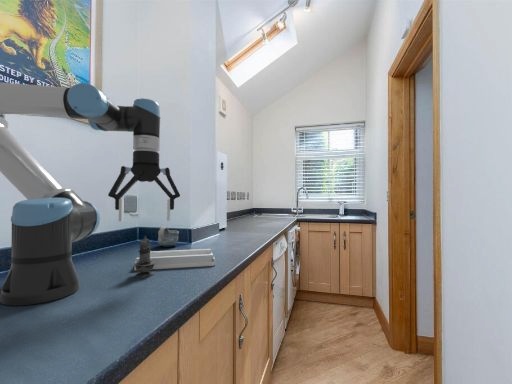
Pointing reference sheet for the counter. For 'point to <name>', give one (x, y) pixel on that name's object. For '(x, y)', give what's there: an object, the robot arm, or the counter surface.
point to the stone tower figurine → (144, 260)
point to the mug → (167, 237)
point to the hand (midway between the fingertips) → (145, 220)
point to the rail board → (181, 258)
